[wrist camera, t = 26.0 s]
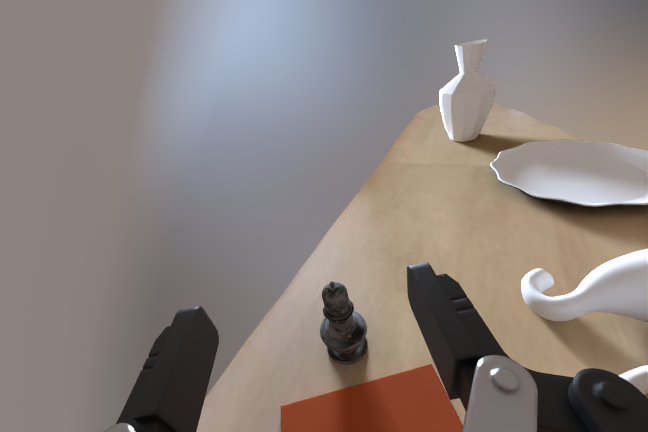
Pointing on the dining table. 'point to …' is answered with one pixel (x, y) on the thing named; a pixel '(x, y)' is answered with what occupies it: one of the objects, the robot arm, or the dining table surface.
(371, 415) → the rectangular block
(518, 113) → the dining table surface
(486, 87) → the vase
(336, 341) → the chess piece
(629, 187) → the plate
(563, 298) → the stomach
